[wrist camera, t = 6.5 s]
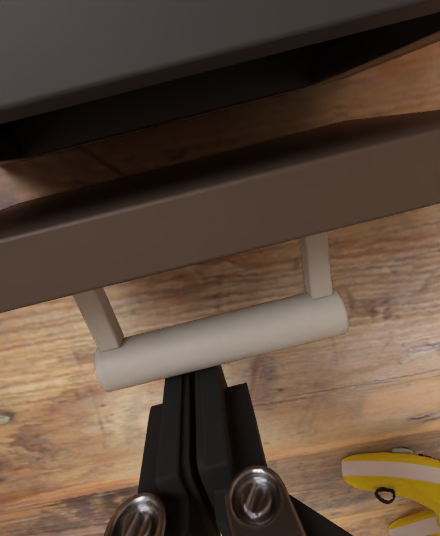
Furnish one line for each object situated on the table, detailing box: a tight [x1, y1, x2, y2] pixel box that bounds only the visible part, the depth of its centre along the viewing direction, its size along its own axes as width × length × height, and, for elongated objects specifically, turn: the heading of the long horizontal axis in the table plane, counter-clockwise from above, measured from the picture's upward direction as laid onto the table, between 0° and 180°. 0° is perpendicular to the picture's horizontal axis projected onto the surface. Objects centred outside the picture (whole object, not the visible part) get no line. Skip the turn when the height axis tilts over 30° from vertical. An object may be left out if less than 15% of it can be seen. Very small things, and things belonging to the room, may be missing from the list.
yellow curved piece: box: [341, 446, 440, 536], centre depth 20 cm, size 10×6×4 cm, turn 31°
